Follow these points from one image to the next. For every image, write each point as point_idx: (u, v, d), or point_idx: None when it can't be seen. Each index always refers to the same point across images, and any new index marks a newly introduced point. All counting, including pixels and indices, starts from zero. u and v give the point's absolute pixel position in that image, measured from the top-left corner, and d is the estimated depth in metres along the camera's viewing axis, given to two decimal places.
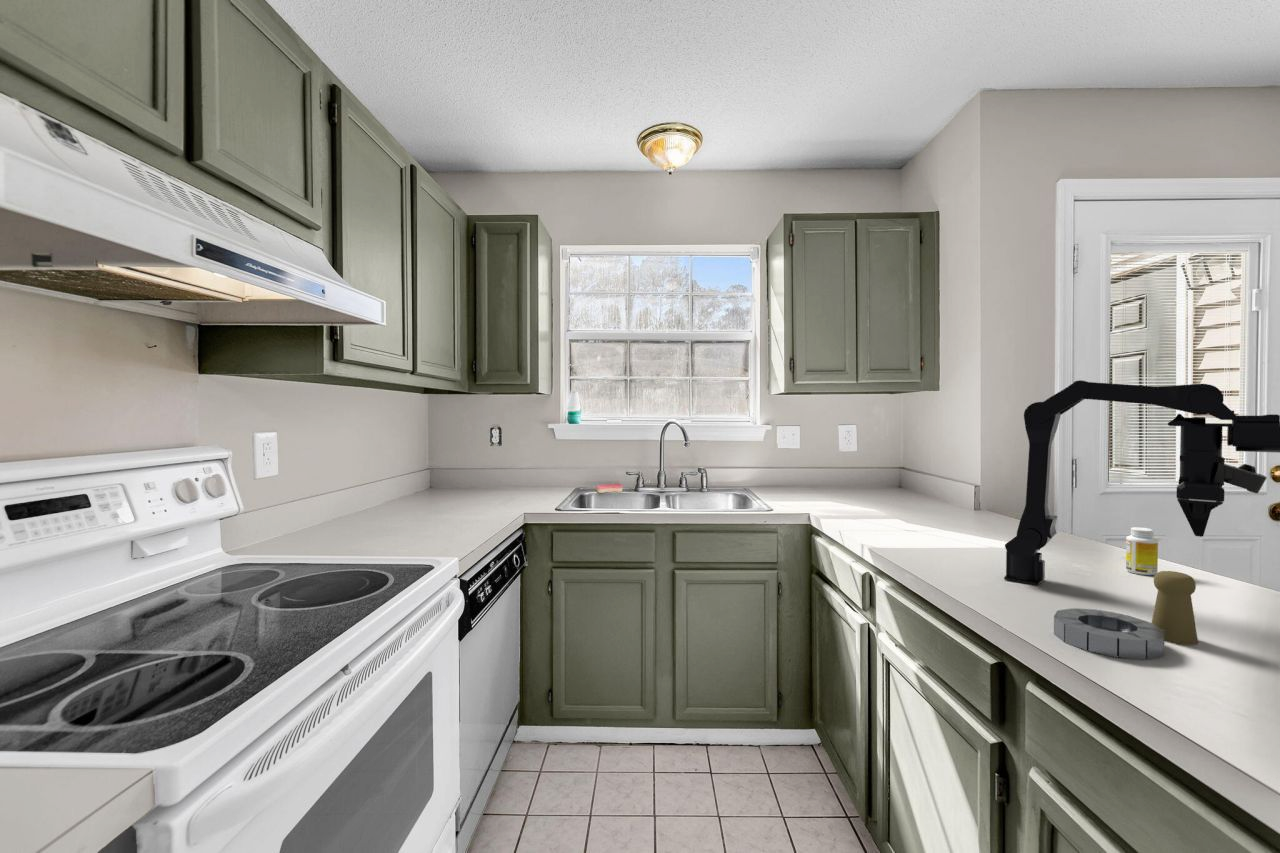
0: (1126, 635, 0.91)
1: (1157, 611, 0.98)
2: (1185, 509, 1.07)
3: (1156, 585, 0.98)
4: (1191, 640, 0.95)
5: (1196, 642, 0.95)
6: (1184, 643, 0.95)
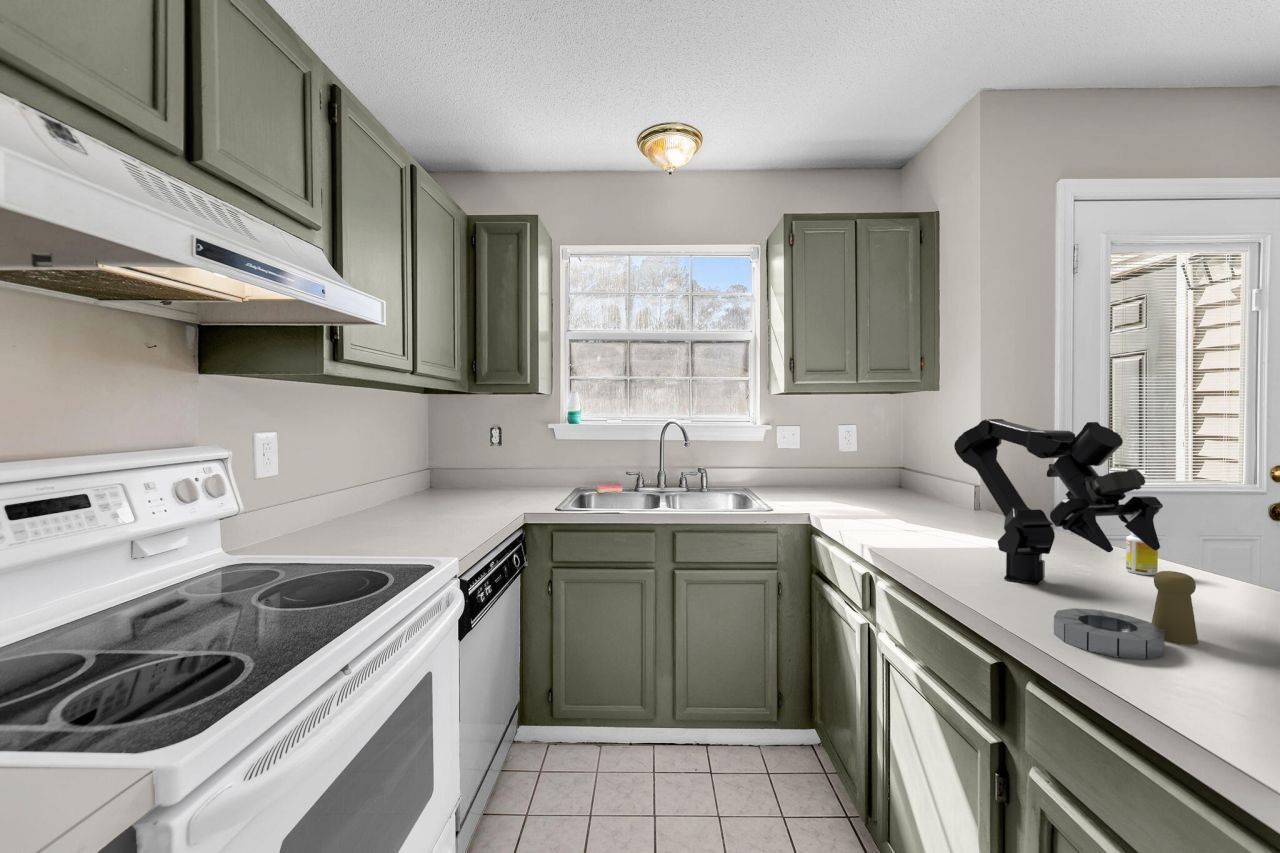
0: (1126, 635, 0.91)
1: (1157, 611, 0.98)
2: (1079, 533, 1.08)
3: (1156, 585, 0.98)
4: (1191, 640, 0.95)
5: (1196, 642, 0.95)
6: (1184, 643, 0.95)
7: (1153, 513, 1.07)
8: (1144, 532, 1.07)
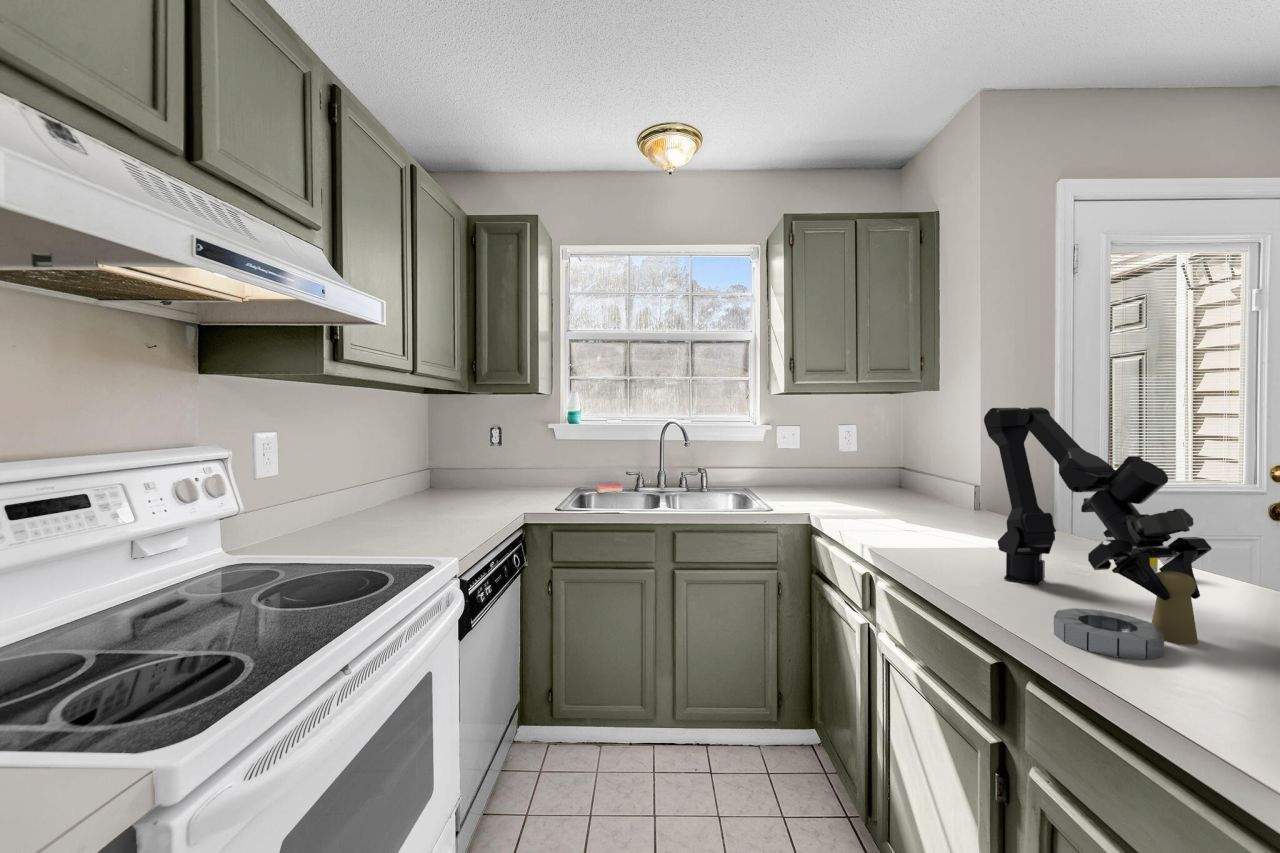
0: (1126, 635, 0.91)
1: (1157, 611, 0.98)
2: (1130, 577, 1.00)
3: None
4: (1191, 640, 0.95)
5: (1196, 642, 0.95)
6: (1184, 643, 0.95)
7: (1191, 557, 0.99)
8: None
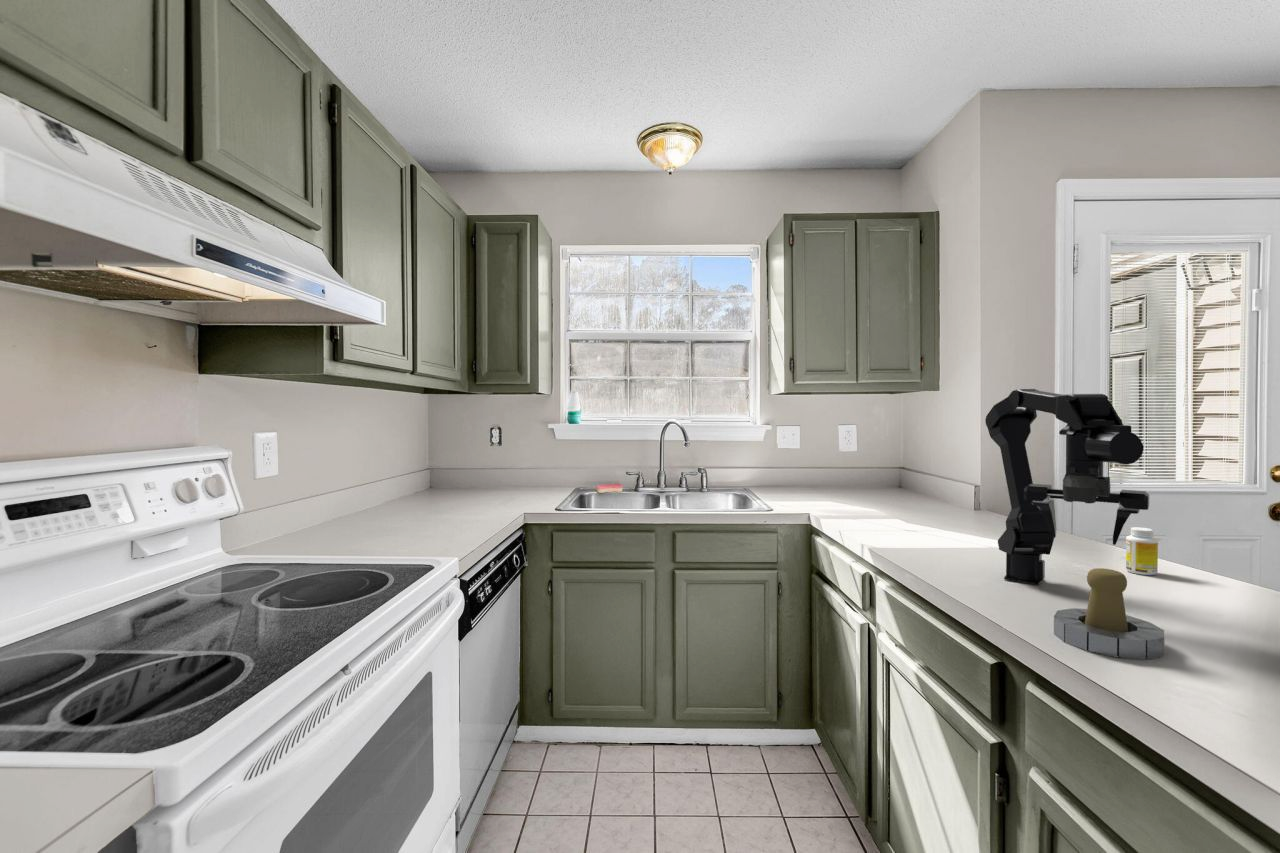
0: (1126, 635, 0.91)
1: None
2: None
3: (1087, 581, 0.98)
4: None
5: None
6: None
7: (1127, 514, 1.06)
8: None
